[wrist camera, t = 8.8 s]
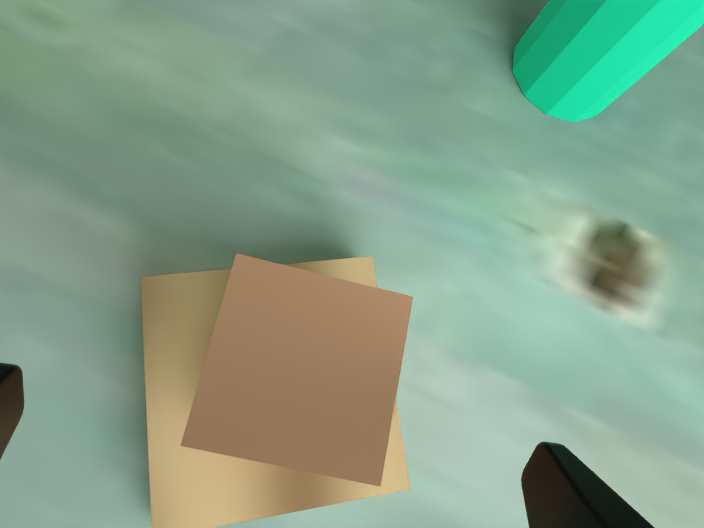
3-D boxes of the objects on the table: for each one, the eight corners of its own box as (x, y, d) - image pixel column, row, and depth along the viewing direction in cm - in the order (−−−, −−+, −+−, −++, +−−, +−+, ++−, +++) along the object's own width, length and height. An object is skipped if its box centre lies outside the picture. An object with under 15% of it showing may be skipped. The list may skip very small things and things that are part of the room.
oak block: (163, 525, 20) (152, 539, 17) (151, 291, 22) (140, 276, 20) (392, 481, 22) (410, 488, 19) (360, 272, 24) (372, 256, 22)
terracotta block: (323, 456, 19) (380, 486, 10) (213, 433, 18) (180, 445, 10) (345, 348, 20) (412, 296, 12) (243, 324, 20) (236, 252, 11)
